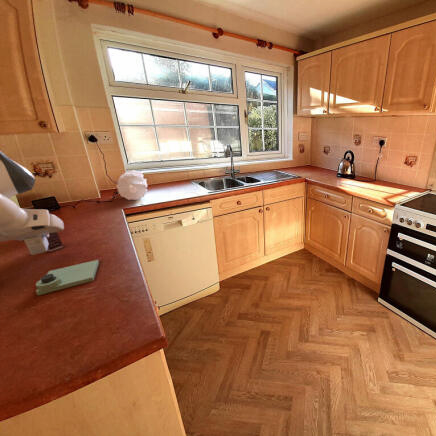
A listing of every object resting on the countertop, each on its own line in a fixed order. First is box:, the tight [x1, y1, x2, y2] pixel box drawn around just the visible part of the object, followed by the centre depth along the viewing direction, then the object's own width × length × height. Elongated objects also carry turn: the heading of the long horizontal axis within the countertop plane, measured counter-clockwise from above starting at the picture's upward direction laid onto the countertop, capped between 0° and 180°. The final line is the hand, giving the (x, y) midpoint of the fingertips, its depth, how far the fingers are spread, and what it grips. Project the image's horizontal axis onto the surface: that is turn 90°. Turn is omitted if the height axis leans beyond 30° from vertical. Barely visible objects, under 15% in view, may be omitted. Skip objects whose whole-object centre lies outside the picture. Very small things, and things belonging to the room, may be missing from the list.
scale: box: [35, 259, 100, 296], centre depth 83 cm, size 14×14×3 cm
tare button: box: [40, 274, 55, 284], centre depth 77 cm, size 3×3×2 cm
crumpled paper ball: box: [115, 169, 148, 201], centre depth 171 cm, size 18×18×25 cm
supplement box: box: [46, 232, 64, 253], centre depth 101 cm, size 9×5×16 cm, turn 65°
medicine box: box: [23, 235, 49, 256], centre depth 92 cm, size 8×4×9 cm, turn 39°
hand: (36, 237), depth 92 cm, fingers closed on medicine box, 5 cm apart
